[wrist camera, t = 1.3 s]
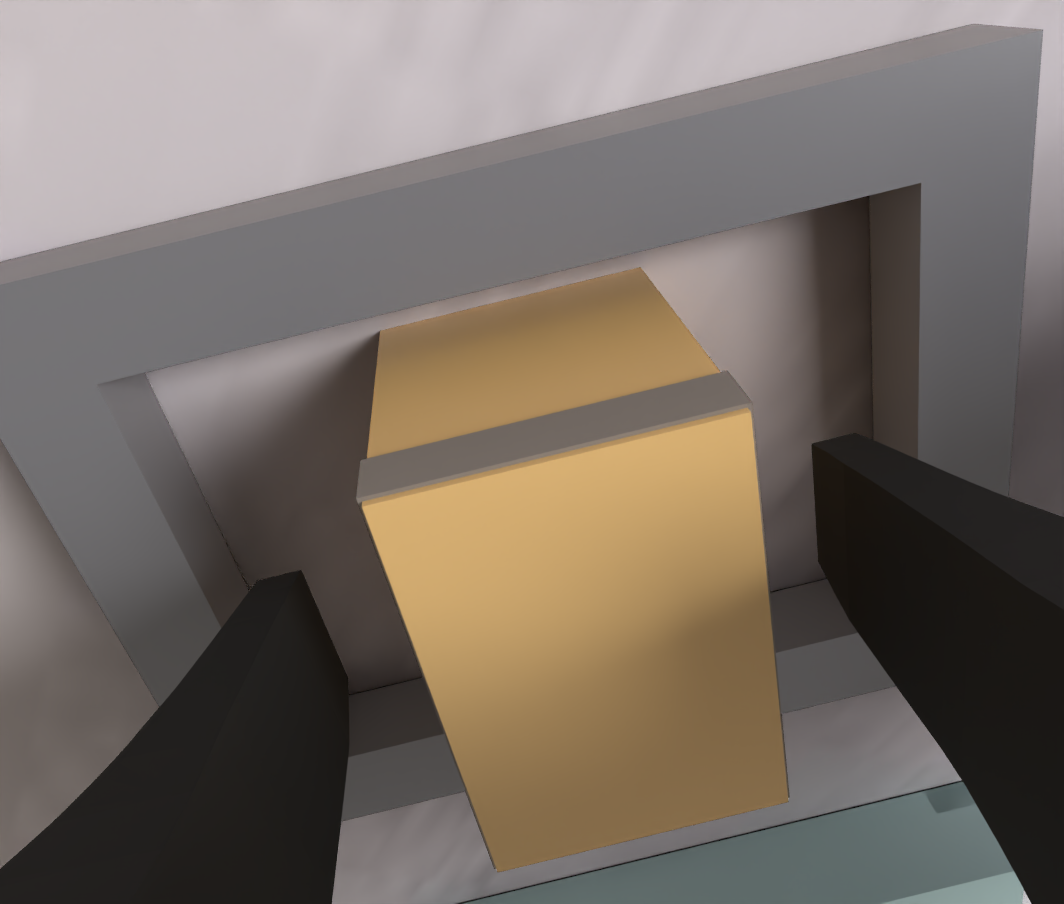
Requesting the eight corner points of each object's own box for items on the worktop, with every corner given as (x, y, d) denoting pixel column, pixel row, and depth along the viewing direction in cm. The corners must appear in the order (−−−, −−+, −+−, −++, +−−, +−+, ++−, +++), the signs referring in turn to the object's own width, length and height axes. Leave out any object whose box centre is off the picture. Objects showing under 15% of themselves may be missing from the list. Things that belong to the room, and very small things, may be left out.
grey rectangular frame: (974, 23, 12) (1043, 29, 11) (951, 608, 17) (995, 661, 16) (-26, 267, 12) (-80, 304, 11) (255, 778, 17) (242, 845, 16)
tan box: (642, 262, 13) (755, 406, 9) (690, 578, 16) (792, 803, 12) (376, 327, 13) (355, 504, 9) (473, 630, 16) (494, 876, 12)
